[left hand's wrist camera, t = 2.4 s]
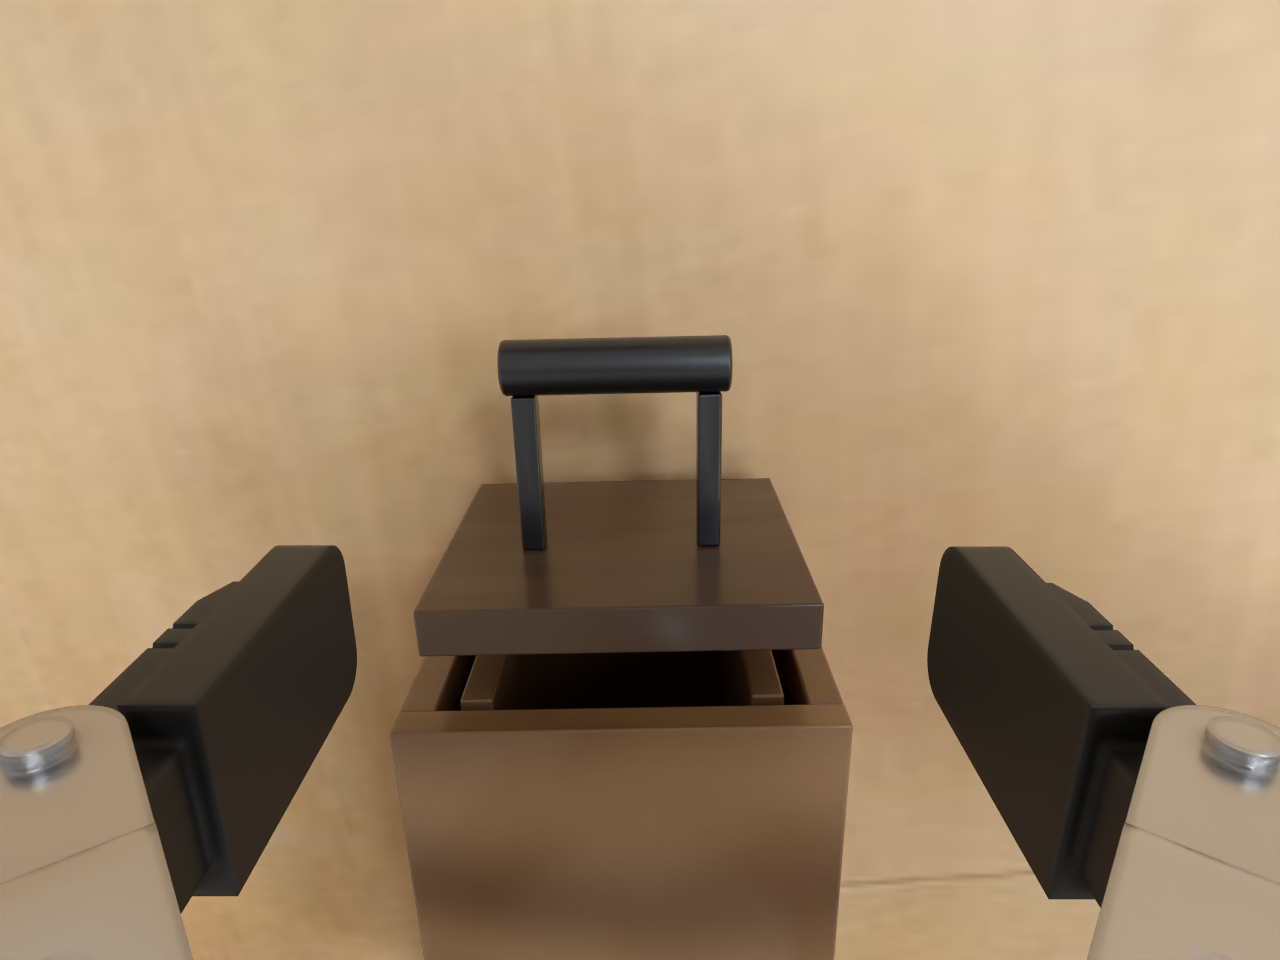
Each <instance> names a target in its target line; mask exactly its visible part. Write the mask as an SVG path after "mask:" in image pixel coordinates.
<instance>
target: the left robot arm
mask: <svg viewBox="0 0 1280 960" xmlns="http://www.w3.org/2000/svg"><path fill="white" fill-rule="evenodd" d="M927 661H928V674H929V680H930V685H931V689H932V692H933V695H934V697H935V699H936V701H937V703H938V704H939V706H940V708H941V710H942V711H943V713H944V715H945V717H946V719H947V720H948V722H949V724H950V726H951V727H952V729H953V731H954V733H955V734H956V736H957V738H958V740H959V741H960V743H961V745H962V747H963V749H964V750H965V752H966V754H967V756H968V757H969V759H970V761H971V763H972V764H973V766H974V768H975V770H976V772H977V773H978V775H979V777H980V779H981V780H982V782H983V784H984V786H985V787H986V789H987V791H988V793H989V794H990V796H991V798H992V800H993V802H994V803H995V805H996V807H997V809H998V810H999V812H1000V814H1001V816H1002V817H1003V819H1004V821H1005V823H1006V825H1007V826H1008V828H1009V830H1010V832H1011V833H1012V835H1013V837H1014V839H1015V840H1016V842H1017V844H1018V846H1019V847H1020V849H1021V851H1022V853H1023V855H1024V856H1025V858H1026V860H1027V862H1028V863H1029V865H1030V867H1031V869H1032V870H1033V872H1034V874H1035V876H1036V878H1037V879H1038V881H1039V883H1040V885H1041V886H1042V888H1043V890H1044V892H1045V893H1046V895H1047V897H1048V899H1095V900H1096V901H1097V903H1098V904H1099V906H1100V908H1101V910H1100V914H1099V918H1098V921H1097V925H1096V928H1095V932H1094V936H1093V939H1092V943H1091V947H1090V950H1089V954H1088V958H1087V960H1280V728H1279V727H1277V726H1275V725H1272V724H1270V723H1268V722H1265V721H1263V720H1261V719H1258V718H1255V717H1252V716H1249V715H1246V714H1243V713H1239V712H1236V711H1232V710H1228V709H1223V708H1217V707H1210V706H1202V705H1196V704H1195V703H1194V702H1193V701H1192V700H1191V699H1190V698H1189V697H1188V696H1186V695H1185V694H1184V693H1183V692H1182V691H1181V690H1180V689H1179V688H1178V687H1177V686H1176V685H1175V684H1174V683H1173V682H1172V681H1171V680H1170V679H1169V678H1167V677H1166V676H1165V675H1164V674H1163V673H1162V672H1161V671H1160V670H1159V669H1158V668H1157V667H1156V666H1155V665H1154V664H1153V663H1152V662H1151V661H1150V660H1149V659H1147V658H1146V657H1145V656H1144V655H1143V654H1142V653H1141V652H1140V651H1139V650H1134V649H1133V644H1132V643H1131V642H1130V641H1128V640H1127V639H1126V638H1125V637H1124V636H1123V635H1122V634H1121V633H1120V632H1119V631H1118V630H1113V625H1112V624H1111V623H1110V622H1108V621H1107V620H1106V619H1105V618H1104V617H1103V616H1102V615H1101V614H1100V613H1099V612H1098V611H1097V610H1096V609H1095V608H1094V607H1093V606H1092V605H1091V604H1089V603H1088V602H1086V601H1085V600H1083V599H1081V598H1079V597H1077V596H1075V595H1073V594H1071V593H1070V592H1068V591H1066V590H1064V589H1062V588H1060V587H1058V586H1057V585H1055V584H1053V583H1045V582H1044V581H1043V580H1042V579H1041V578H1040V577H1039V576H1038V575H1037V574H1036V573H1035V572H1034V571H1033V570H1032V569H1031V568H1030V567H1029V566H1028V565H1027V564H1026V563H1025V562H1024V561H1023V560H1022V559H1021V558H1020V557H1019V556H1018V555H1017V554H1016V553H1015V552H1014V551H1013V550H1012V549H1011V548H1009V547H949V548H947V549H946V551H945V552H944V554H943V556H942V559H941V563H940V568H939V575H938V582H937V589H936V596H935V603H934V611H933V618H932V625H931V632H930V639H929V646H928V658H927ZM356 667H357V650H356V642H355V635H354V627H353V620H352V613H351V606H350V599H349V592H348V584H347V577H346V570H345V564H344V560H343V556H342V554H341V552H340V550H339V549H338V548H337V547H336V546H275V547H274V548H273V549H271V550H270V551H269V552H268V553H267V554H266V555H265V556H264V558H263V559H262V560H261V561H260V562H259V563H258V564H257V565H256V566H255V567H254V568H253V569H252V570H251V571H250V572H249V573H248V574H247V575H246V576H245V577H244V578H243V579H242V580H241V581H240V582H232V583H230V584H228V585H226V586H224V587H222V588H221V589H219V590H217V591H215V592H213V593H211V594H209V595H208V596H206V597H204V598H202V599H200V600H198V601H197V602H196V603H195V604H194V605H192V606H191V607H190V608H189V609H188V610H187V611H186V612H185V613H184V614H183V615H182V616H181V617H180V618H179V619H178V620H177V621H176V622H175V623H174V624H173V629H167V630H166V631H165V632H164V633H163V634H162V635H161V636H160V637H159V638H158V639H157V640H156V641H155V642H154V643H153V648H148V649H147V650H145V651H144V652H143V653H142V654H141V655H140V656H139V657H138V658H137V659H136V660H135V661H134V662H133V663H132V664H131V665H130V666H129V667H128V668H127V669H126V670H125V671H124V672H122V673H121V674H120V675H119V676H118V677H117V678H116V679H115V680H114V681H113V682H112V683H111V684H110V685H109V686H108V687H107V688H106V689H105V690H104V691H103V692H102V693H101V694H100V695H98V696H97V697H96V698H95V699H94V700H93V701H92V702H91V703H90V704H89V705H78V706H70V707H63V708H57V709H52V710H48V711H44V712H41V713H37V714H34V715H31V716H28V717H25V718H22V719H19V720H17V721H15V722H12V723H10V724H8V725H5V726H3V727H1V728H0V960H193V958H192V954H191V950H190V947H189V943H188V939H187V936H186V932H185V928H184V925H183V921H182V918H181V913H182V911H183V910H184V908H185V906H186V905H187V903H188V902H189V900H190V898H191V897H192V896H238V895H239V893H240V891H241V890H242V888H243V886H244V884H245V883H246V881H247V879H248V877H249V875H250V874H251V872H252V870H253V868H254V866H255V865H256V863H257V861H258V859H259V858H260V856H261V854H262V852H263V850H264V849H265V847H266V845H267V843H268V841H269V840H270V838H271V836H272V834H273V832H274V831H275V829H276V827H277V825H278V824H279V822H280V820H281V818H282V816H283V815H284V813H285V811H286V809H287V807H288V806H289V804H290V802H291V800H292V798H293V797H294V795H295V793H296V791H297V790H298V788H299V786H300V784H301V782H302V781H303V779H304V777H305V775H306V773H307V772H308V770H309V768H310V766H311V765H312V763H313V761H314V759H315V757H316V756H317V754H318V752H319V750H320V748H321V747H322V745H323V743H324V741H325V739H326V738H327V736H328V734H329V732H330V731H331V729H332V727H333V725H334V723H335V722H336V720H337V718H338V716H339V714H340V713H341V711H342V709H343V707H344V705H345V704H346V702H347V700H348V698H349V696H350V694H351V691H352V689H353V685H354V681H355V675H356Z"/></svg>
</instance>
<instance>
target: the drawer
mask: <svg viewBox="0 0 1280 960" xmlns="http://www.w3.org/2000/svg"><path fill="white" fill-rule="evenodd" d="M498 378H499V384H500V389H501V391H502V393H503V395H505V396H512V398H511V407H512V420H513V433H514V445H515V458H516V471H517V484H482V485H481V486H480V488H479V490H478V492H477V494H476V496H475V497H474V499H473V501H472V503H471V505H470V507H469V509H468V511H467V513H466V514H465V516H464V518H463V520H462V522H461V524H460V526H459V528H458V530H457V531H456V533H455V535H454V537H453V539H452V541H451V543H450V545H449V546H448V548H447V550H446V552H445V554H444V556H443V558H442V560H441V562H440V563H439V565H438V567H437V569H436V571H435V573H434V575H433V577H432V579H431V580H430V582H429V584H428V586H427V588H426V590H425V592H424V594H423V596H422V597H421V599H420V601H419V603H418V605H417V607H416V609H415V611H414V619H415V627H416V634H417V642H418V649H419V655H420V656H471V655H476V658H475V660H474V663H473V666H472V669H471V672H470V675H469V678H468V680H467V683H466V686H465V689H464V692H463V695H462V698H461V700H460V704H461V711H477V710H534V709H591V708H648V707H705V706H761V705H784V694H783V690H782V686H781V683H780V679H779V676H778V672H777V668H776V665H775V661H774V657H773V654H772V650H799V649H820V648H821V643H822V627H823V611H824V604H823V602H822V600H821V597H820V595H819V593H818V590H817V588H816V586H815V583H814V581H813V579H812V576H811V574H810V572H809V569H808V567H807V565H806V562H805V560H804V558H803V555H802V553H801V551H800V548H799V546H798V544H797V541H796V539H795V537H794V534H793V532H792V530H791V527H790V525H789V523H788V520H787V518H786V516H785V513H784V511H783V509H782V506H781V504H780V502H779V499H778V497H777V495H776V492H775V490H774V488H773V485H772V483H771V481H770V479H769V478H763V479H721V445H722V394H721V392H720V391H728V390H730V387H731V382H732V346H731V340H730V338H729V336H726V335H721V336H675V337H630V338H585V339H540V340H504V341H501V343H500V345H499V349H498ZM672 392H697V436H696V480H665V481H616V482H567V483H544V481H543V466H542V451H541V436H540V422H539V407H538V395H579V394H626V393H672Z"/></svg>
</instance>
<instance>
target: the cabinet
mask: <svg viewBox="0 0 1280 960" xmlns="http://www.w3.org/2000/svg"><path fill="white" fill-rule="evenodd" d="M772 654H773V657H774V661H775V665H776V668H777V672H778V676H779V679H780V683H781V686H782V690H783V694H784V705H761V706H705V707H648V708H591V709H534V710H477V711H461V704H460V700H461V698H462V695H463V692H464V689H465V686H466V683H467V680H468V678H469V675H470V672H471V669H472V666H473V663H474V660H475V658H476V655H471V656H425V658H424V661H423V663H422V665H421V667H420V669H419V672H418V674H417V676H416V678H415V680H414V683H413V685H412V687H411V689H410V691H409V694H408V696H407V698H406V700H405V702H404V705H403V707H402V709H401V712H400V713H399V715H398V718H397V720H396V722H395V724H394V726H393V729H392V731H391V733H390V737H391V744H392V750H393V757H394V763H395V770H396V776H397V783H398V789H399V796H400V802H401V809H402V815H403V822H404V828H405V835H406V841H407V848H408V854H409V861H410V867H411V874H412V880H413V887H414V894H415V900H416V907H417V913H418V920H419V926H420V933H421V939H422V946H423V952H424V959H425V960H834V953H835V941H836V928H837V916H838V903H839V891H840V878H841V866H842V853H843V841H844V829H845V816H846V804H847V791H848V779H849V766H850V754H851V741H852V729H853V726H852V723H851V721H850V718H849V716H848V713H847V710H846V708H845V705H844V704H843V701H842V698H841V696H840V693H839V691H838V688H837V685H836V683H835V680H834V678H833V675H832V673H831V670H830V667H829V665H828V662H827V660H826V657H825V654H824V652H823V649H822V647H821V648H820V649H799V650H772Z"/></svg>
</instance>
